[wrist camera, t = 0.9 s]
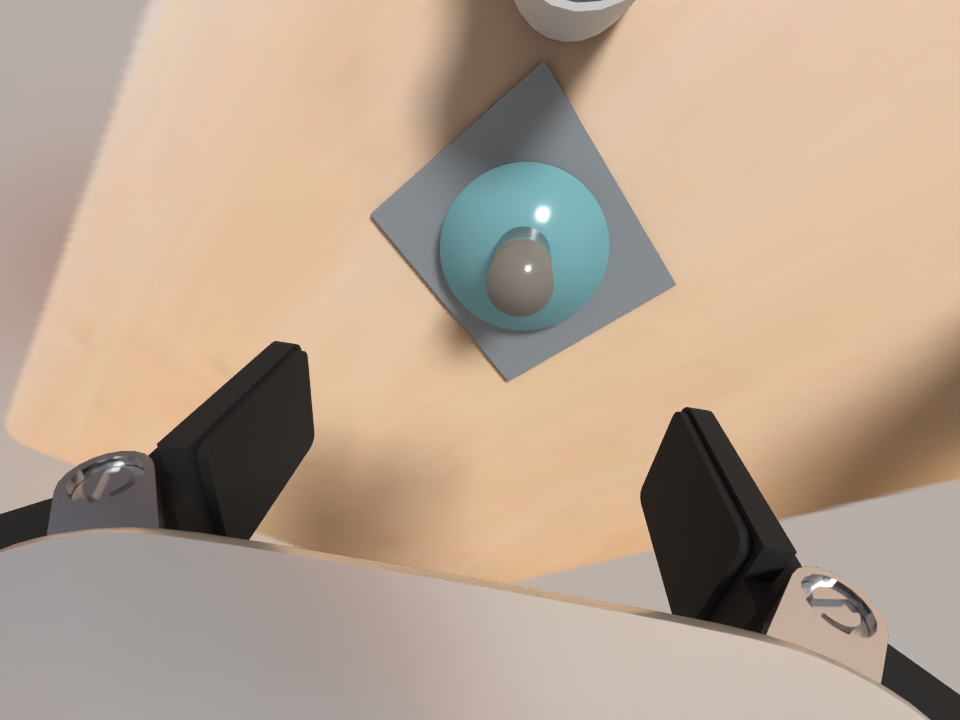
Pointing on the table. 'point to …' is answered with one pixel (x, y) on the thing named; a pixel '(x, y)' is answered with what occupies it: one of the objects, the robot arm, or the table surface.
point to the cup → (571, 17)
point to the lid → (524, 246)
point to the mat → (525, 137)
